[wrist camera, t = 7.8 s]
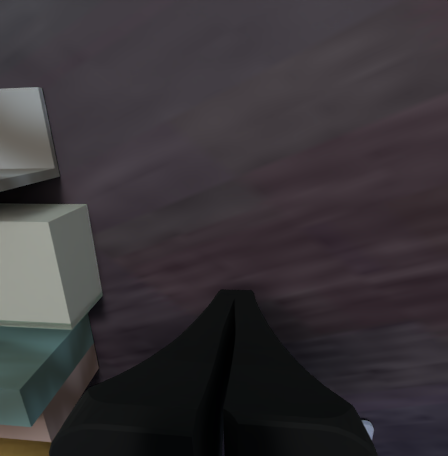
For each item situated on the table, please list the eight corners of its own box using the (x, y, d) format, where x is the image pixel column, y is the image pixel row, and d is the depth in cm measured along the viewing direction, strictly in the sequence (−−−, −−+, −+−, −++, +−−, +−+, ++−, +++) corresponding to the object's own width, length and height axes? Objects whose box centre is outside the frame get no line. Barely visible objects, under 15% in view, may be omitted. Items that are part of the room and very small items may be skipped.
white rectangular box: (103, 294, 19) (72, 329, 16) (-10, 289, 20) (-63, 322, 16) (88, 203, 17) (48, 222, 14) (-38, 202, 18) (-104, 219, 14)
